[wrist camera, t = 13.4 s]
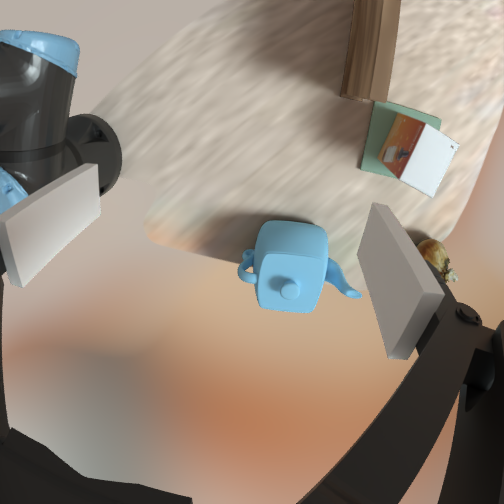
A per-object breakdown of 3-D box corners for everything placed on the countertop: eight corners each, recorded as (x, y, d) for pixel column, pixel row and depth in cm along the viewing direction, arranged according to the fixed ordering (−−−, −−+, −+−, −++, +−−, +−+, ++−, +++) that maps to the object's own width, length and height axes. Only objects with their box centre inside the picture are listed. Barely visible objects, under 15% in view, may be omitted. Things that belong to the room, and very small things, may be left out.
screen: (340, 96, 39) (362, 102, 27) (355, -9, 31) (381, -41, 18) (360, 101, 39) (390, 109, 27) (375, -3, 30) (408, -32, 18)
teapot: (343, 286, 55) (352, 331, 45) (242, 276, 56) (232, 319, 46) (358, 223, 49) (375, 261, 39) (246, 210, 50) (235, 246, 40)
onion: (437, 224, 47) (457, 248, 40) (445, 261, 50) (462, 286, 43) (399, 241, 49) (414, 267, 42) (409, 276, 52) (423, 304, 46)
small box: (397, 111, 38) (426, 120, 29) (427, 129, 39) (461, 143, 30) (375, 158, 42) (397, 180, 33) (405, 174, 43) (433, 199, 34)
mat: (359, 168, 44) (360, 170, 44) (374, 98, 39) (376, 98, 38) (423, 184, 44) (424, 186, 43) (440, 119, 38) (441, 119, 38)
